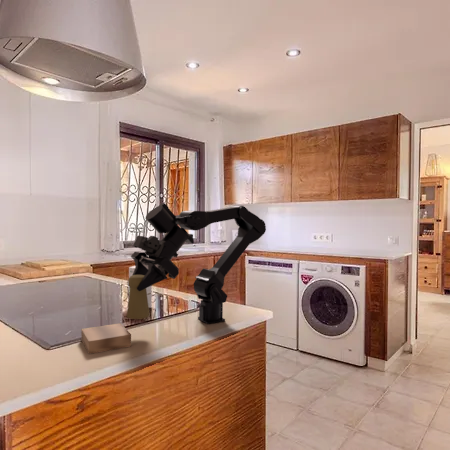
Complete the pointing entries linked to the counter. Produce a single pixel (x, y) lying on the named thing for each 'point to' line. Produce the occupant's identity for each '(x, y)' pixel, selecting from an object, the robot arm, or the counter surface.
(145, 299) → the olive pepper mill
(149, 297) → the syrup box
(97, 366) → the counter surface
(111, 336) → the plinth
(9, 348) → the counter surface
